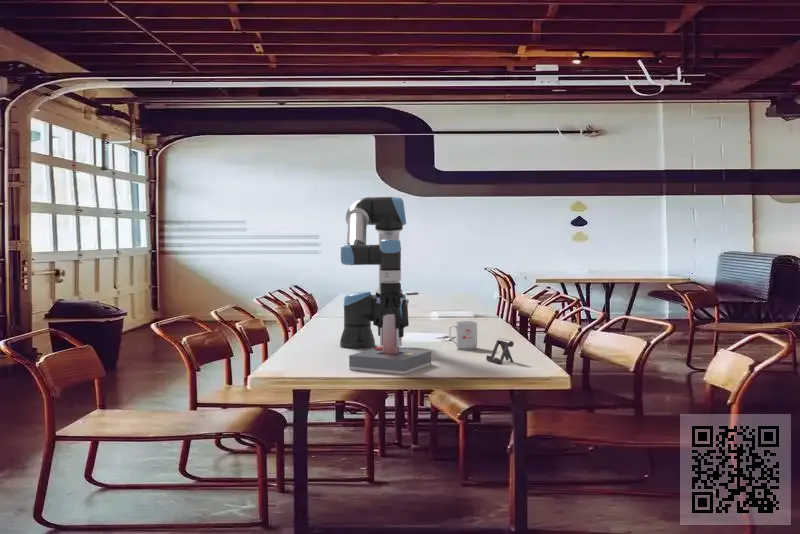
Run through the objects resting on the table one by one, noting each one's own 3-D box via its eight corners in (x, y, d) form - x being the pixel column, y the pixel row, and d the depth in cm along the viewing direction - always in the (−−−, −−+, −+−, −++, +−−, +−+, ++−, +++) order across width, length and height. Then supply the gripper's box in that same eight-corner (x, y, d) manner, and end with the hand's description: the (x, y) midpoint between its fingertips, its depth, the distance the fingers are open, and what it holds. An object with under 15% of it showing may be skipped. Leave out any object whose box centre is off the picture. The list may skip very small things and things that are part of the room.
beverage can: (382, 355, 275) (381, 314, 275) (398, 354, 276) (398, 314, 275) (383, 357, 269) (382, 316, 269) (399, 357, 270) (399, 315, 269)
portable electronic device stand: (486, 361, 285) (486, 339, 285) (503, 359, 288) (503, 337, 288) (498, 364, 277) (498, 342, 277) (516, 363, 280) (516, 340, 280)
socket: (349, 369, 268) (349, 353, 268) (379, 360, 288) (379, 345, 287) (404, 374, 258) (403, 357, 258) (431, 364, 277) (431, 348, 277)
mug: (474, 346, 322) (474, 320, 322) (479, 349, 313) (479, 323, 313) (446, 347, 320) (446, 321, 320) (451, 350, 312) (451, 323, 311)
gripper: (362, 282, 273) (363, 345, 273) (409, 283, 264) (409, 348, 265) (372, 280, 279) (373, 342, 280) (418, 282, 270) (418, 346, 271)
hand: (390, 345), depth 272 cm, fingers closed on beverage can, 6 cm apart
